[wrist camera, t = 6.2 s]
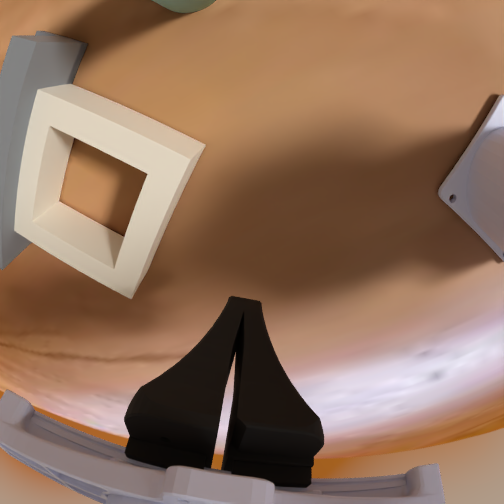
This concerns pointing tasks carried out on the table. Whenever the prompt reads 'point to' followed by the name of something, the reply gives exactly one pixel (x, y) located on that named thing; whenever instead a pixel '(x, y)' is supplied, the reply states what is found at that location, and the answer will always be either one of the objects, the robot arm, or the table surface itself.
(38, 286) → the table surface
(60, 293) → the table surface
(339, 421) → the table surface
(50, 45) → the wall
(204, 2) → the dowel
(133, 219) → the block
